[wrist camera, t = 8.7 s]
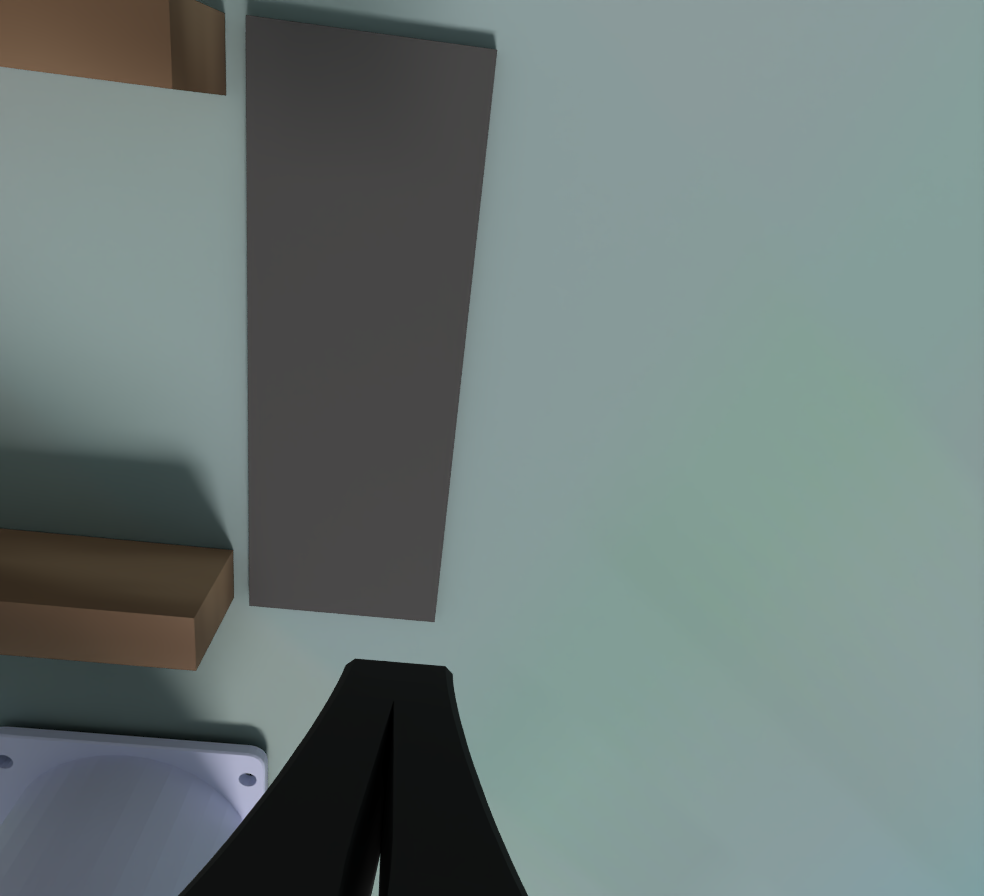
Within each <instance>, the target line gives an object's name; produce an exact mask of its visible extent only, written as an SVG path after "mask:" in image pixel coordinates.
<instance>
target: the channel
mask: <svg viewBox="0 0 984 896" xmlns="http://www.w3.org/2000/svg"><path fill="white" fill-rule="evenodd" d="M0 66H1V67H9V68H16V69H24V70H31V71H39V72H47V73H54V74H62V75H69V76H77V77H85V78H92V79H100V80H108V81H115V82H123V83H130V84H138V85H146V86H153V87H161V88H169V89H177V90H185V91H193V92H201V93H209V94H218V95H226V61H225V13H222V12H220V11H218V10H216V9H213V8H211V7H209V6H207V5H204V4H202V3H200V2H198V1H195V0H0ZM233 598H234V574H233V550H225V549H215V548H204V547H193V546H182V545H172V544H161V543H150V542H140V541H129V540H118V539H107V538H97V537H86V536H75V535H65V534H54V533H43V532H32V531H22V530H11V529H0V654H1V655H13V656H25V657H37V658H49V659H61V660H73V661H85V662H97V663H109V664H121V665H133V666H145V667H157V668H169V669H181V670H193V671H196V670H197V668H198V666H199V664H200V662H201V660H202V658H203V656H204V655H205V653H206V651H207V649H208V647H209V645H210V643H211V641H212V639H213V637H214V635H215V633H216V631H217V629H218V627H219V625H220V623H221V622H222V620H223V618H224V616H225V614H226V612H227V610H228V608H229V606H230V604H231V602H232V600H233Z"/></svg>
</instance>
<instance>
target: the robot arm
mask: <svg viewBox="0 0 984 896" xmlns="http://www.w3.org/2000/svg"><path fill="white" fill-rule="evenodd" d="M7 756H8V757H7ZM245 773H249V774H252V775H254V776H250V775H247V774H245ZM379 857H380V876H379V896H528V895H527V893H526V891H525V889H524V886H523V884H522V882H521V880H520V878H519V876H518V874H517V872H516V869H515V867H514V865H513V863H512V861H511V858H510V856H509V854H508V851H507V849H506V847H505V845H504V842H503V840H502V838H501V835H500V833H499V831H498V828H497V826H496V823H495V821H494V818H493V816H492V813H491V811H490V808H489V806H488V803H487V801H486V798H485V795H484V792H483V789H482V787H481V784H480V781H479V778H478V775H477V773H476V770H475V767H474V764H473V761H472V758H471V755H470V752H469V749H468V746H467V742H466V739H465V735H464V731H463V728H462V724H461V721H460V716H459V712H458V708H457V703H456V698H455V692H454V686H453V674H452V673H451V672H450V671H449V670H448V669H447V668H446V666H435V665H424V664H412V663H400V662H388V661H376V660H364V659H354V660H352V661H351V662H350V663H348V664H347V665H346V666H345V668H344V671H343V673H342V675H341V677H340V679H339V681H338V683H337V685H336V687H335V688H334V690H333V692H332V694H331V696H330V697H329V699H328V701H327V703H326V704H325V706H324V708H323V709H322V711H321V712H320V714H319V716H318V717H317V719H316V720H315V722H314V723H313V725H312V727H311V728H310V730H309V731H308V733H307V734H306V736H305V737H304V739H303V740H302V742H301V743H300V744H299V746H298V747H297V749H296V750H295V752H294V753H293V754H292V756H291V757H290V759H289V760H288V762H287V763H286V764H285V766H284V767H283V769H282V770H281V772H280V773H279V774H278V776H277V777H276V779H275V780H274V781H273V783H272V784H271V785H270V787H269V788H268V758H267V755H266V753H265V752H264V751H263V750H262V749H260V748H258V747H256V746H252V745H240V744H227V743H214V742H201V741H188V740H176V739H163V738H150V737H137V736H124V735H111V734H98V733H85V732H72V731H59V730H46V729H33V728H20V727H7V726H6V727H0V896H371V894H372V889H373V885H374V880H375V876H376V871H377V866H378V862H379Z"/></svg>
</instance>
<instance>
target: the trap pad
mask: <svg viewBox="0 0 984 896" xmlns="http://www.w3.org/2000/svg"><path fill="white" fill-rule="evenodd" d="M496 57H497V50H495V49H488V48H481V47H474V46H466V45H459V44H452V43H445V42H437V41H430V40H423V39H416V38H408V37H401V36H394V35H387V34H379V33H372V32H365V31H358V30H350V29H343V28H336V27H329V26H322V25H314V24H307V23H300V22H293V21H285V20H278V19H271V18H264V17H256V16H249V15H246V130H247V295H248V460H249V606H259V607H270V608H281V609H293V610H304V611H315V612H326V613H338V614H349V615H360V616H371V617H383V618H394V619H405V620H416V621H428V622H435V612H436V603H437V594H438V585H439V576H440V567H441V558H442V549H443V540H444V530H445V521H446V512H447V503H448V494H449V485H450V476H451V467H452V458H453V448H454V439H455V430H456V421H457V412H458V403H459V394H460V385H461V376H462V366H463V357H464V348H465V339H466V330H467V321H468V312H469V303H470V293H471V284H472V275H473V266H474V257H475V248H476V239H477V230H478V221H479V211H480V202H481V193H482V184H483V175H484V166H485V157H486V148H487V139H488V129H489V120H490V111H491V102H492V93H493V84H494V75H495V66H496Z"/></svg>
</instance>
